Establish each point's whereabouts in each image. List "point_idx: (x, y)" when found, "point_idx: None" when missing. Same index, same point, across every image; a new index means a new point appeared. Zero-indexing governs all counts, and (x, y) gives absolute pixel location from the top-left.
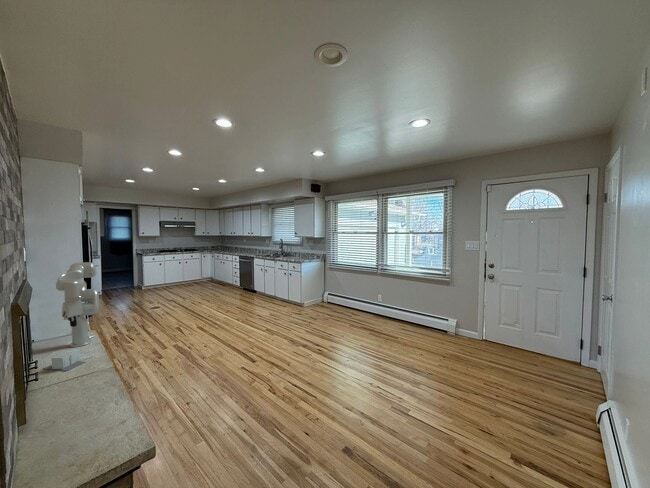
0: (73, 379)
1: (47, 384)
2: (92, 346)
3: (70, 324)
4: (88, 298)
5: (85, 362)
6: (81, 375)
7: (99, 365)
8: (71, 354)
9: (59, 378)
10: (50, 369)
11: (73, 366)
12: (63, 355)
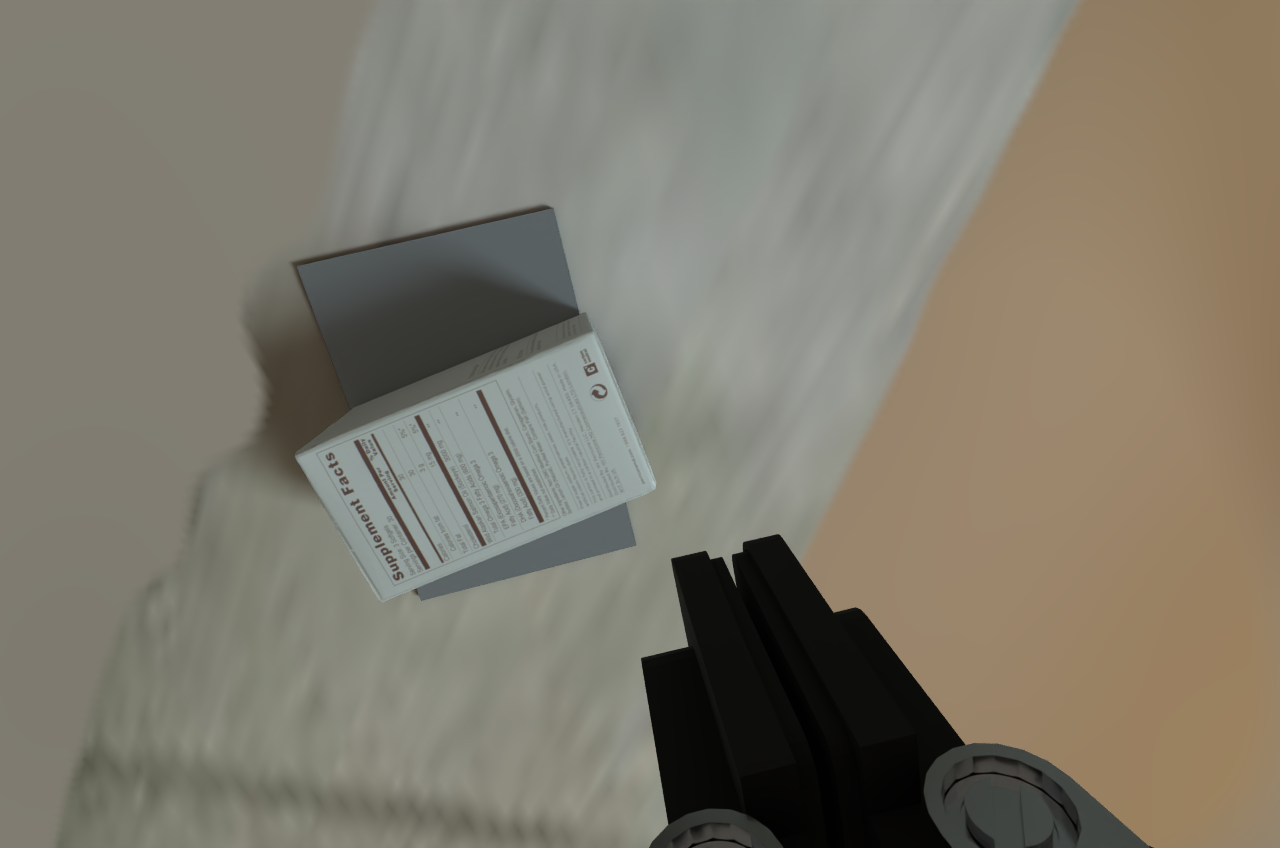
0: (379, 832)
1: (204, 748)
2: (1010, 7)
3: (651, 699)
4: None
5: (630, 543)
6: (454, 810)
7: (648, 734)
8: (517, 542)
9: (316, 710)
10: (343, 387)
11: (510, 553)
12: (427, 517)
